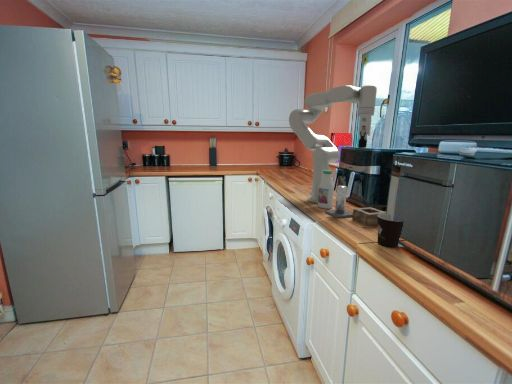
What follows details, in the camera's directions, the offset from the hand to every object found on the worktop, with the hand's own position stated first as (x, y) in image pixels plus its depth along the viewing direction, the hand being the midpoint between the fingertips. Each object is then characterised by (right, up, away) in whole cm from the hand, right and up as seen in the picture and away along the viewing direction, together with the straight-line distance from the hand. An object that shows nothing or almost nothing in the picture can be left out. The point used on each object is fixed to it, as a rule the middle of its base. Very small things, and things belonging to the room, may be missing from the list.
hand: (362, 147), depth 130 cm
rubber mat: (-12, -33, -3) cm, 36 cm away
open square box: (-2, -36, -13) cm, 38 cm away
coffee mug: (-6, -41, -37) cm, 55 cm away
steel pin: (-12, -32, -3) cm, 35 cm away
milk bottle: (-16, -31, +11) cm, 36 cm away
